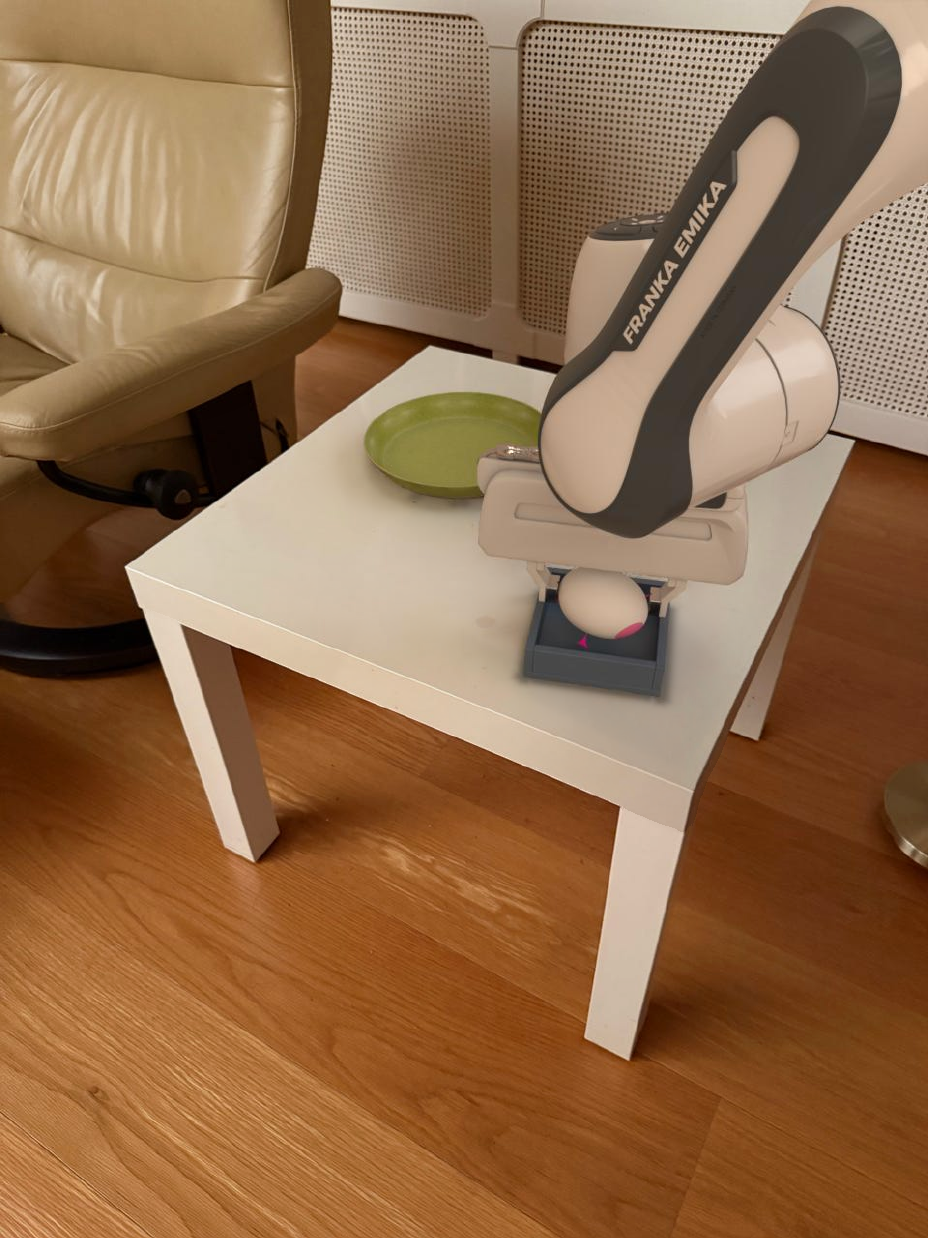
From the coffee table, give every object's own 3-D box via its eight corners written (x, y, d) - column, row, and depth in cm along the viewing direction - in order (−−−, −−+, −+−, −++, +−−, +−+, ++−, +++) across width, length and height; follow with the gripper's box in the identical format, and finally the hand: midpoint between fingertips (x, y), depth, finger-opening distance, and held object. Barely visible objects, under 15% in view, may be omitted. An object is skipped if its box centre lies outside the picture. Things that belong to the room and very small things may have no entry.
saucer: (535, 410, 105) (536, 385, 103) (571, 504, 90) (573, 477, 88) (362, 421, 104) (360, 396, 102) (369, 520, 88) (366, 493, 86)
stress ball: (643, 661, 74) (675, 588, 73) (613, 667, 67) (647, 587, 66) (566, 625, 77) (595, 554, 76) (530, 627, 70) (560, 550, 69)
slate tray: (666, 609, 77) (671, 581, 75) (659, 696, 69) (665, 668, 67) (543, 593, 79) (545, 566, 77) (523, 676, 71) (524, 648, 69)
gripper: (467, 463, 62) (469, 612, 71) (768, 494, 58) (729, 647, 67) (485, 420, 67) (484, 566, 76) (764, 447, 63) (729, 596, 72)
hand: (602, 604), depth 71 cm, fingers closed on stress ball, 7 cm apart
